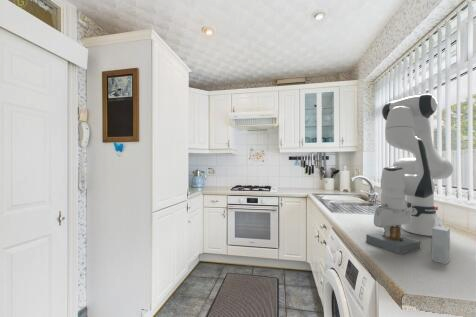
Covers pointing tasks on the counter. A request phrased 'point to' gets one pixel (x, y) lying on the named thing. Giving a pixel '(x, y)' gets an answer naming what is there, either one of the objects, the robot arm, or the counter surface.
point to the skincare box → (441, 244)
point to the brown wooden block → (394, 233)
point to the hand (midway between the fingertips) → (392, 235)
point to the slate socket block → (393, 243)
